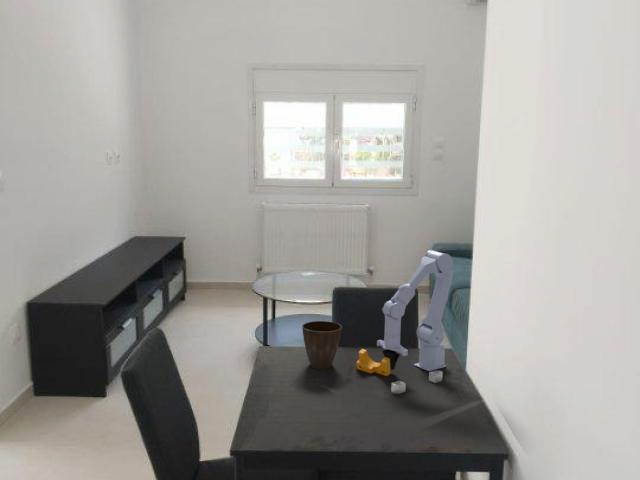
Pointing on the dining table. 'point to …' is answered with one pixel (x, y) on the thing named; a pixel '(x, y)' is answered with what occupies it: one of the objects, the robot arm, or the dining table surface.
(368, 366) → the pipe clamp
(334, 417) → the dining table surface
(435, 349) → the robot arm
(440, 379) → the chain ends
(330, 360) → the plant pot
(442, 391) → the dining table surface
